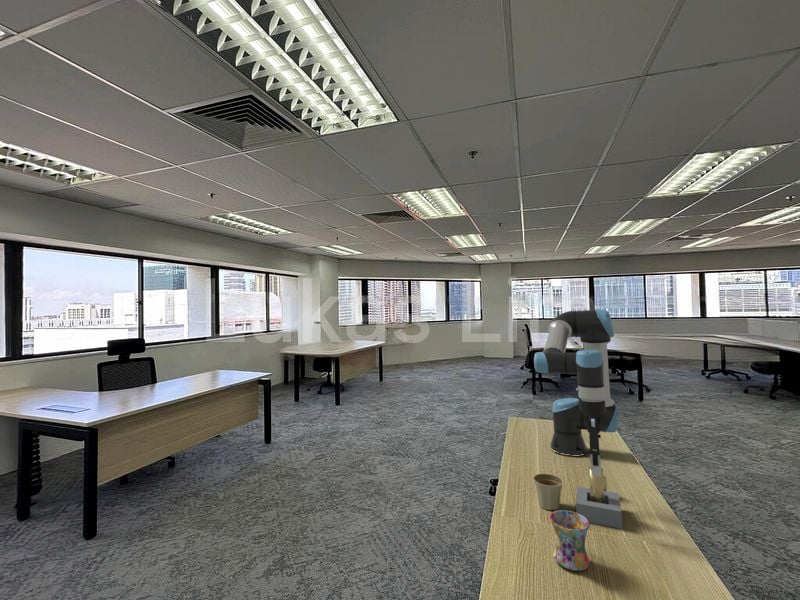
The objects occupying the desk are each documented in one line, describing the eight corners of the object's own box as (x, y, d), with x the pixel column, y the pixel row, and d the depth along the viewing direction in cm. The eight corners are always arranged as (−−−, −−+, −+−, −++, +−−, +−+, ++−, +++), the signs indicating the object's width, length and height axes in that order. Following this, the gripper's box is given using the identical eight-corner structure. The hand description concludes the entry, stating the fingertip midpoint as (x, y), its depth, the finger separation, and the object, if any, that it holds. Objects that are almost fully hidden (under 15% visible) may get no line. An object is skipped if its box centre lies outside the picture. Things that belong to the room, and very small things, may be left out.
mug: (596, 577, 87) (593, 532, 88) (555, 572, 89) (552, 528, 90) (584, 546, 99) (581, 506, 99) (547, 542, 101) (545, 503, 101)
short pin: (594, 491, 128) (593, 474, 129) (607, 493, 127) (606, 476, 127) (594, 496, 125) (593, 478, 125) (607, 498, 123) (606, 480, 123)
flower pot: (563, 500, 123) (562, 474, 123) (566, 515, 114) (564, 487, 114) (533, 497, 126) (532, 472, 126) (534, 511, 117) (533, 484, 117)
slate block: (577, 501, 122) (577, 486, 122) (619, 509, 116) (618, 493, 117) (576, 519, 111) (575, 503, 112) (622, 529, 106) (621, 511, 106)
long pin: (591, 509, 117) (588, 465, 117) (605, 512, 115) (602, 467, 115) (591, 516, 113) (588, 470, 114) (606, 519, 111) (603, 472, 112)
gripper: (579, 389, 128) (583, 450, 128) (577, 408, 106) (581, 481, 106) (603, 391, 125) (607, 453, 124) (606, 410, 103) (611, 486, 102)
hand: (595, 466), depth 115 cm, fingers open, 13 cm apart
